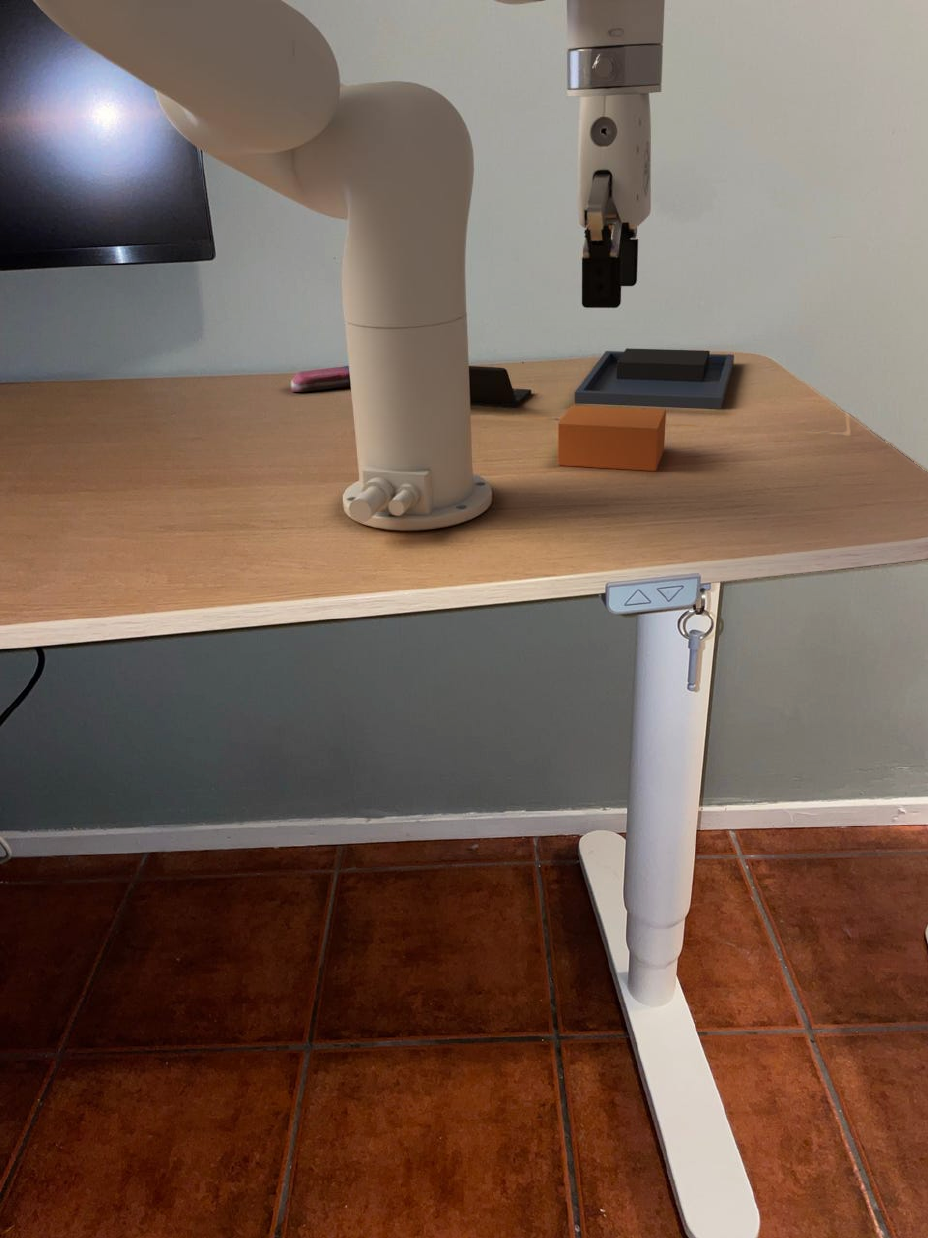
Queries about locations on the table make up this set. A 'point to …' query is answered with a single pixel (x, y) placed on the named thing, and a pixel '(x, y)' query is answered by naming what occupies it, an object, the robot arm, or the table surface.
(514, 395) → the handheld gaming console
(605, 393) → the pad tray
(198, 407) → the table surface
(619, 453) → the orange block
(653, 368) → the rubber pad
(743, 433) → the table surface
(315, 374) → the eraser
